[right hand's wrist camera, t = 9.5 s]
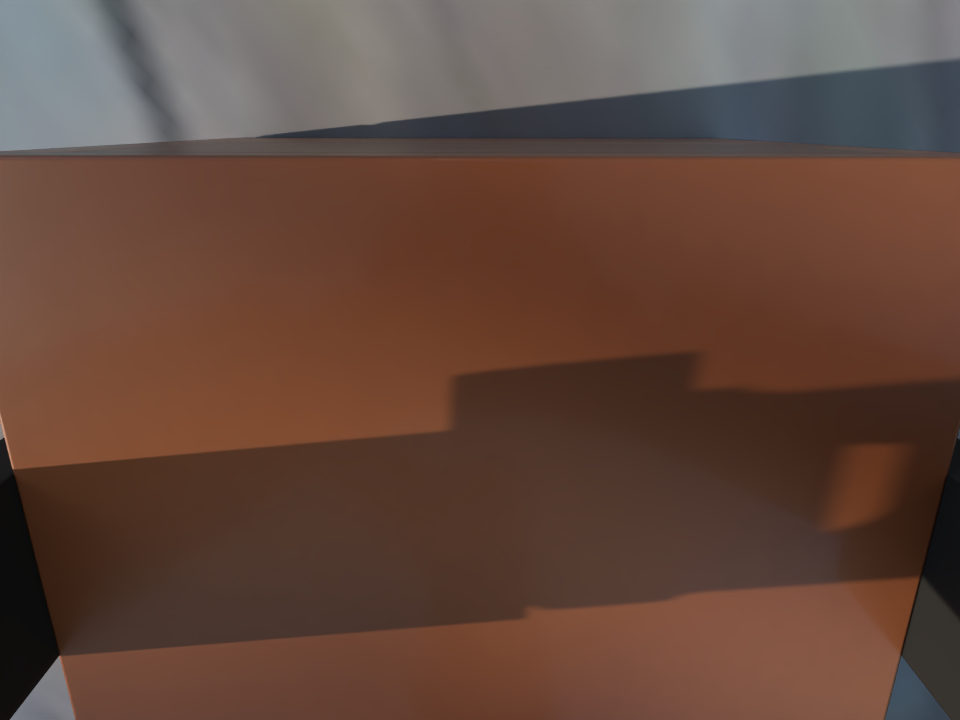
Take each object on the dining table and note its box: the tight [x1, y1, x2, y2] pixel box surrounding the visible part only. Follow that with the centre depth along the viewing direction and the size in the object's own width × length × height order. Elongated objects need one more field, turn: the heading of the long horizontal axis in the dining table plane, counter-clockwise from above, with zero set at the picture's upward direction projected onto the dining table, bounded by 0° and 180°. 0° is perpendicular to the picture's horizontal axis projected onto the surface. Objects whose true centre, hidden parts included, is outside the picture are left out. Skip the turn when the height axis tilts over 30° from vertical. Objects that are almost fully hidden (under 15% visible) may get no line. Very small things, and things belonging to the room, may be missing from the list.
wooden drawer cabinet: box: [0, 138, 960, 720], centre depth 14 cm, size 17×11×9 cm, turn 0°
